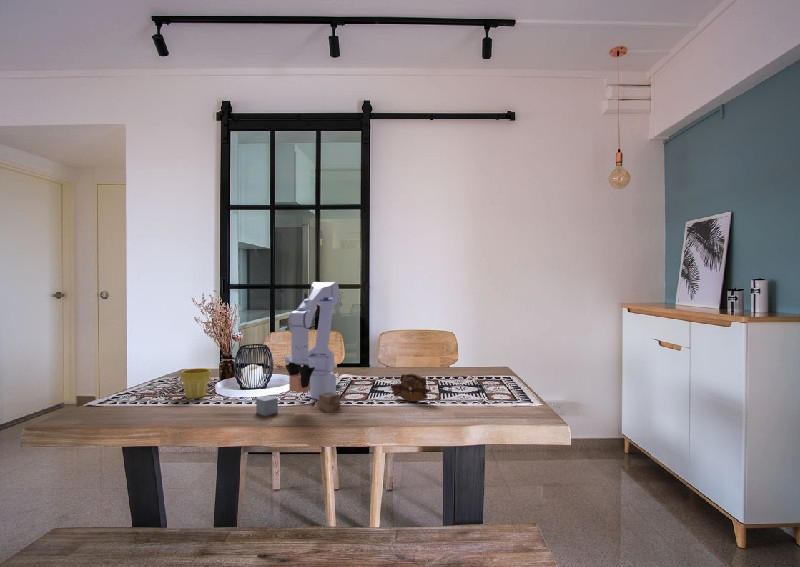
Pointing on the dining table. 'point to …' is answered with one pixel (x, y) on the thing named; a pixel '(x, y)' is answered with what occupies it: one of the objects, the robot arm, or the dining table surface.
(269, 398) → the slate block
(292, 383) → the terracotta block
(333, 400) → the walnut block
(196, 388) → the plant pot
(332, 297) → the robot arm
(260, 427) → the dining table surface
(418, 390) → the wooden carving
